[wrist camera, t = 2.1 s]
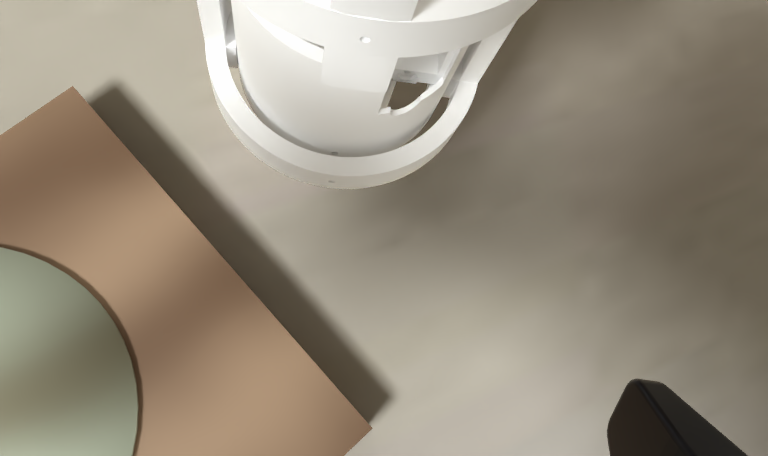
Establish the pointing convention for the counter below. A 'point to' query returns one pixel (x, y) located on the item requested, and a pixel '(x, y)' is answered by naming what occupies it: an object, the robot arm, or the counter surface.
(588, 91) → the counter surface
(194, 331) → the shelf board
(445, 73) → the white tall rounded piece
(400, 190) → the counter surface
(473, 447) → the counter surface
